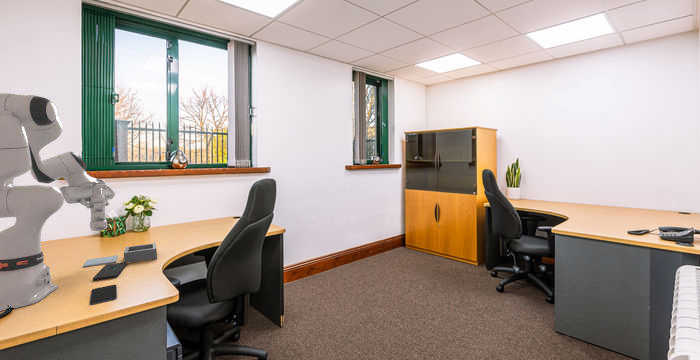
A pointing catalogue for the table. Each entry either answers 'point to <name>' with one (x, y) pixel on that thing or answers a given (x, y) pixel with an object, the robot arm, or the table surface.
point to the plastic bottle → (98, 211)
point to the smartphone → (103, 294)
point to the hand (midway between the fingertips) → (98, 206)
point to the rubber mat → (100, 261)
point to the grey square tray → (140, 253)
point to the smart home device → (110, 271)
